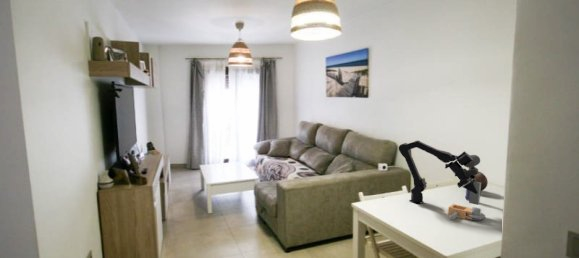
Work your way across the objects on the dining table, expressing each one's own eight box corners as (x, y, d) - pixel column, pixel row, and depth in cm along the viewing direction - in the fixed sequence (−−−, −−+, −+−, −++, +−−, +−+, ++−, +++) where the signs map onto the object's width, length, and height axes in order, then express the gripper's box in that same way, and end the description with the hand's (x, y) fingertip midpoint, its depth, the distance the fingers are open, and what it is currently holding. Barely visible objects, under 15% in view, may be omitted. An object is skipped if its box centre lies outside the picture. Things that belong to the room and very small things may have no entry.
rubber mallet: (471, 203, 195) (474, 157, 192) (458, 200, 201) (461, 155, 197) (478, 199, 203) (481, 155, 200) (466, 196, 209) (469, 153, 205)
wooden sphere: (457, 190, 223) (459, 170, 221) (470, 187, 230) (471, 167, 228) (478, 196, 210) (480, 174, 208) (491, 192, 217) (493, 172, 215)
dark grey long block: (468, 202, 178) (470, 182, 176) (470, 201, 180) (472, 180, 179) (477, 204, 175) (479, 183, 173) (479, 203, 177) (481, 182, 176)
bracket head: (443, 218, 172) (443, 208, 171) (452, 210, 183) (453, 201, 183) (478, 228, 160) (479, 217, 159) (486, 219, 171) (487, 208, 170)
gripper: (465, 165, 171) (486, 189, 165) (474, 160, 184) (494, 182, 178) (448, 176, 177) (468, 199, 171) (458, 170, 191) (477, 191, 184)
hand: (477, 192), depth 176 cm, fingers closed on dark grey long block, 3 cm apart
